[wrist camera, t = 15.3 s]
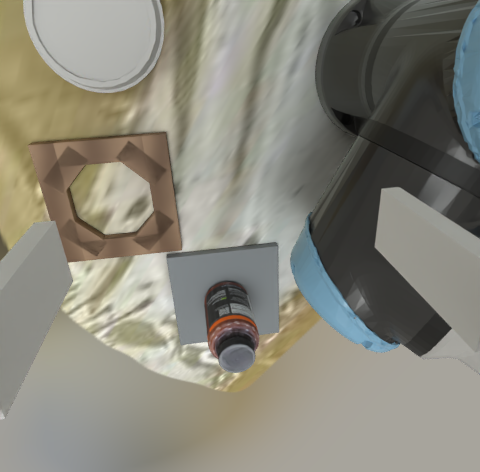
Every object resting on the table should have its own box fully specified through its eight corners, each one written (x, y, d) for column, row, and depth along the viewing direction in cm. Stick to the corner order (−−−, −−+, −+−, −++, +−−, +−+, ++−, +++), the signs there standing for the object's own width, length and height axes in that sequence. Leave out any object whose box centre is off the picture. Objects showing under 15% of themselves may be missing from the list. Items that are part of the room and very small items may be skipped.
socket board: (166, 132, 41) (165, 134, 40) (181, 245, 47) (181, 250, 46) (32, 142, 40) (27, 145, 39) (66, 257, 46) (63, 262, 45)
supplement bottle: (228, 323, 52) (238, 388, 42) (194, 302, 50) (196, 365, 40) (257, 295, 51) (275, 355, 41) (224, 271, 49) (234, 329, 39)
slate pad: (276, 242, 49) (277, 246, 48) (277, 327, 55) (278, 332, 54) (167, 254, 48) (166, 258, 47) (180, 340, 54) (180, 345, 53)
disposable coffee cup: (180, 72, 39) (178, 80, 28) (88, 90, 38) (50, 105, 28) (155, -40, 34) (141, -81, 24) (51, -21, 34) (-11, -53, 23)
